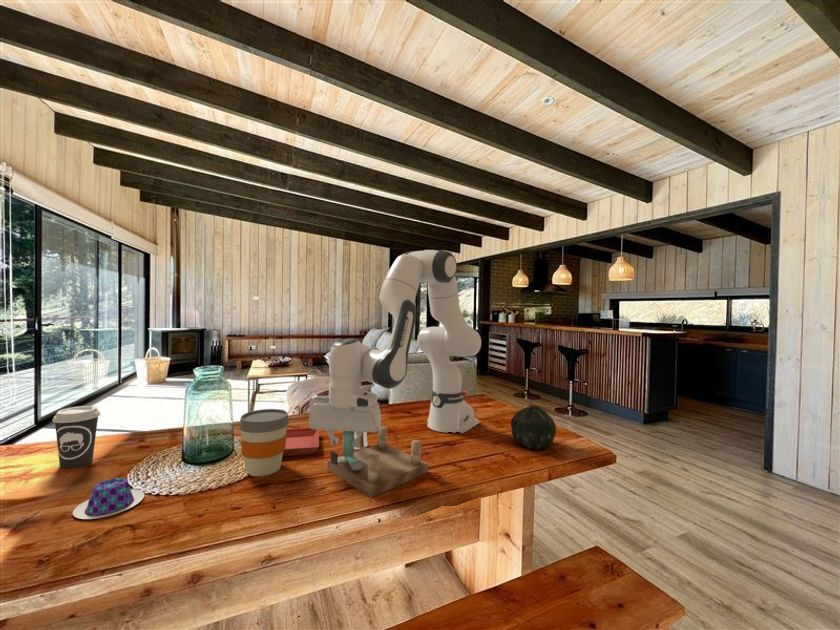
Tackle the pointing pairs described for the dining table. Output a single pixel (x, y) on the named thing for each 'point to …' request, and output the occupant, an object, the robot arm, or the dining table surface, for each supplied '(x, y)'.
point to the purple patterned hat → (108, 499)
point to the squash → (533, 428)
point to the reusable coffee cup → (263, 440)
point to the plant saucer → (301, 441)
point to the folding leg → (350, 451)
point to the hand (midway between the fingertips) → (344, 445)
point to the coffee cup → (76, 435)
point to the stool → (380, 466)
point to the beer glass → (361, 441)
